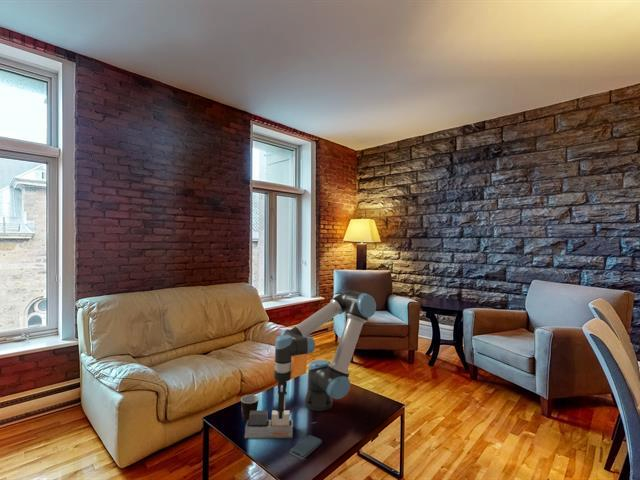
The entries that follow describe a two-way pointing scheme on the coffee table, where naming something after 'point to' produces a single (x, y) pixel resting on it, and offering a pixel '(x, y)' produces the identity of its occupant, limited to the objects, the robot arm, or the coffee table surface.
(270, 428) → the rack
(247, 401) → the coffee mug
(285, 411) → the beige rectangular block
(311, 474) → the coffee table surface
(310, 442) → the smartphone
